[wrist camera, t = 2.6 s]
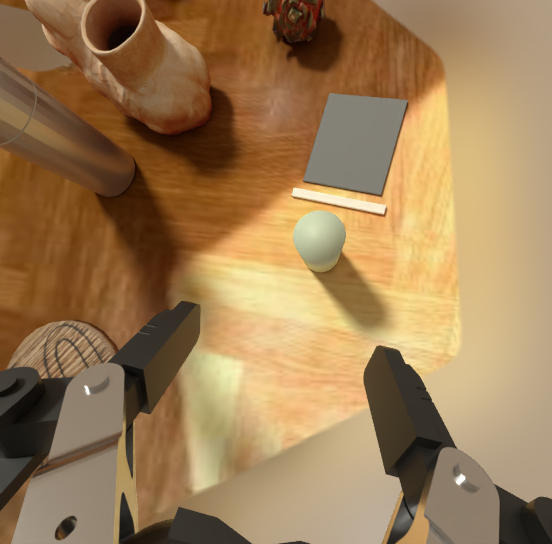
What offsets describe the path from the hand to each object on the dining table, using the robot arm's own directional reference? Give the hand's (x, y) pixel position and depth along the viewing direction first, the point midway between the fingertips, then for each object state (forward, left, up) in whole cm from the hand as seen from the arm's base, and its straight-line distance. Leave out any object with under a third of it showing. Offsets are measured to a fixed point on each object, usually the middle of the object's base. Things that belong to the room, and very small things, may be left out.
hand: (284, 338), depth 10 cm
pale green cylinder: (-1, +8, -21) cm, 23 cm away
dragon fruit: (-15, +43, -21) cm, 50 cm away
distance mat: (-1, +24, -21) cm, 32 cm away
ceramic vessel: (-37, +29, -22) cm, 52 cm away
